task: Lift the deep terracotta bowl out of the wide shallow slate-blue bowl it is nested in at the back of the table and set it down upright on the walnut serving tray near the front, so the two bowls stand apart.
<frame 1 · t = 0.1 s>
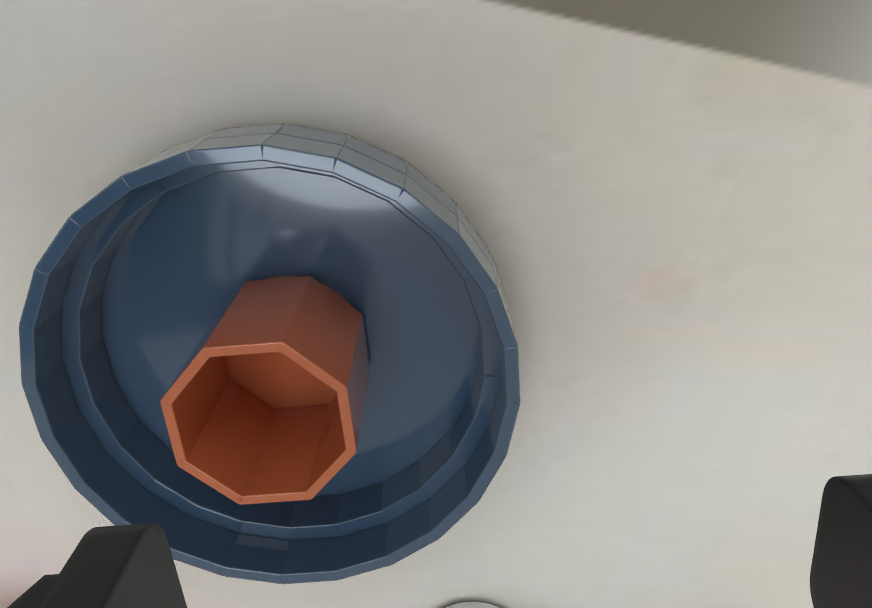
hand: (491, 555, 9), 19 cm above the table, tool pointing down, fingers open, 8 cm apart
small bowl: (292, 344, 28), point 1 cm above the table, touching big bowl
big bowl: (295, 337, 29), on the table
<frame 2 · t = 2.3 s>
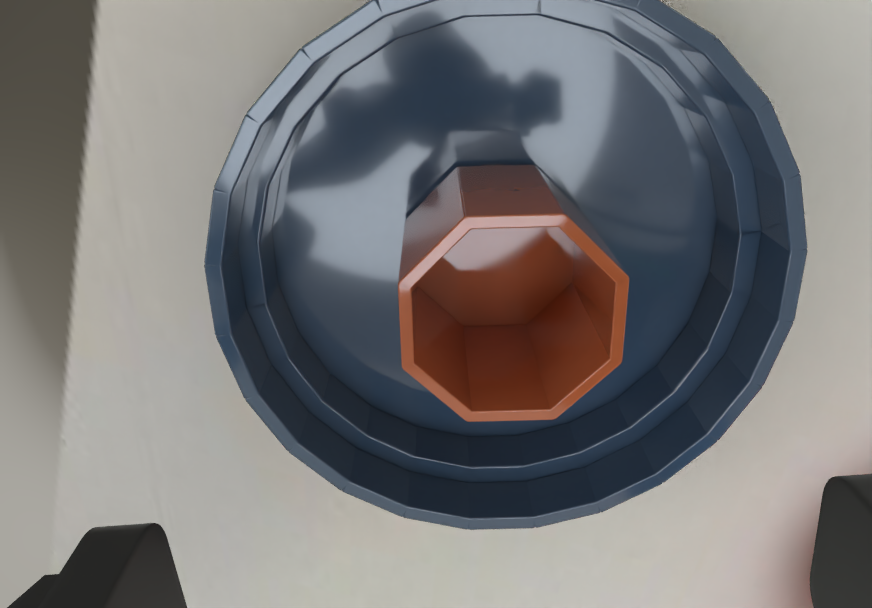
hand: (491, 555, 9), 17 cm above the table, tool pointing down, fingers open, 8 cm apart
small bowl: (494, 249, 24), point 1 cm above the table, touching big bowl
big bowl: (492, 244, 25), on the table
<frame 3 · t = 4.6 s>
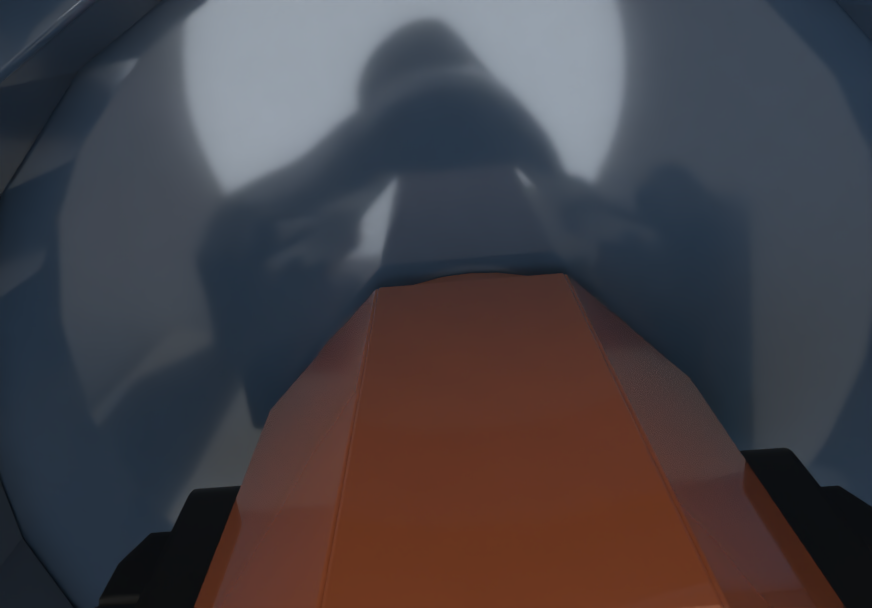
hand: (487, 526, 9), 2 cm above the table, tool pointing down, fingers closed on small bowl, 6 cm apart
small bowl: (481, 450, 11), point 1 cm above the table, touching big bowl, gripper
big bowl: (479, 429, 11), on the table
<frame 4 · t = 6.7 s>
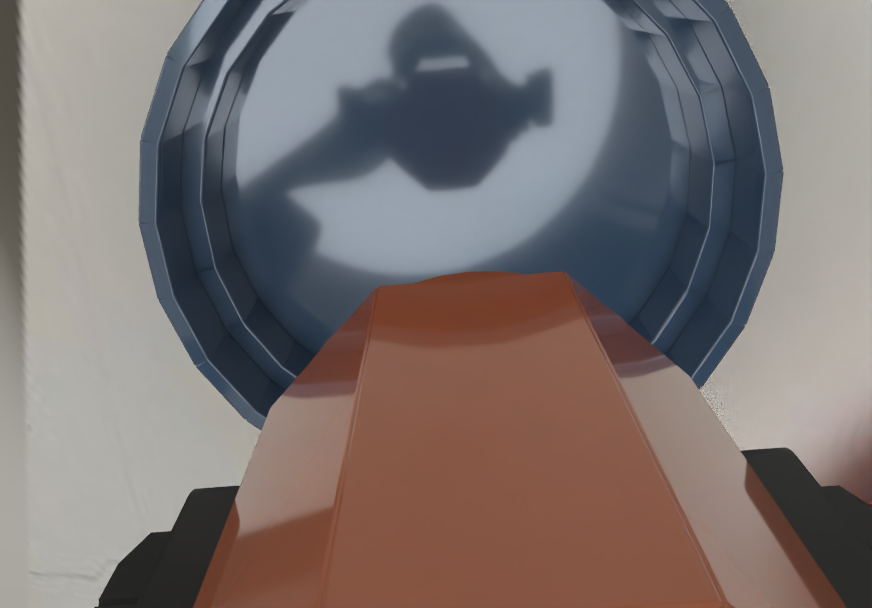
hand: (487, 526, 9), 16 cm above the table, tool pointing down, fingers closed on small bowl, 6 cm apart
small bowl: (481, 449, 11), point 14 cm above the table, touching gripper
big bowl: (455, 194, 24), on the table
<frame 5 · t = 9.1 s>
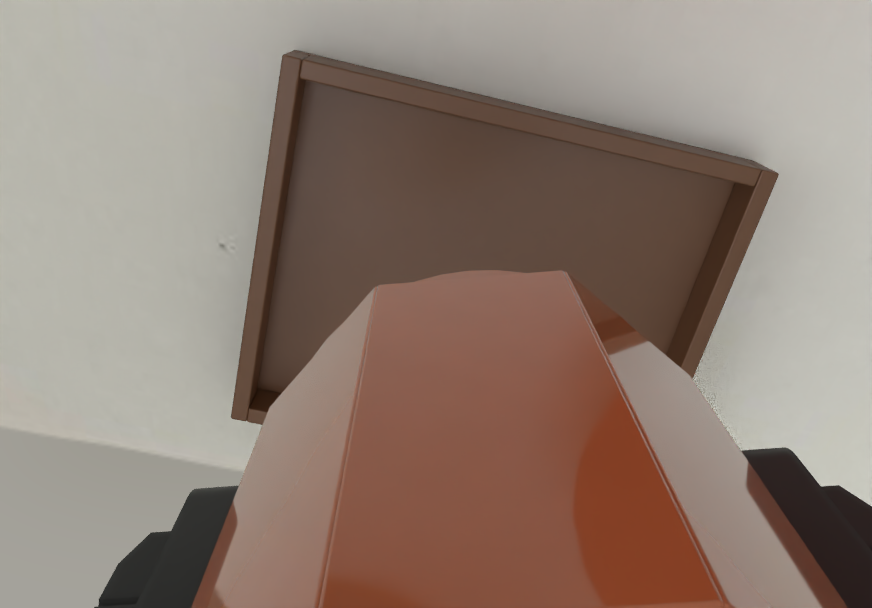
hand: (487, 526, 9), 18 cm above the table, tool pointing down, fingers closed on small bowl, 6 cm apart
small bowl: (481, 448, 11), point 16 cm above the table, touching gripper
tray: (482, 283, 27), on the table
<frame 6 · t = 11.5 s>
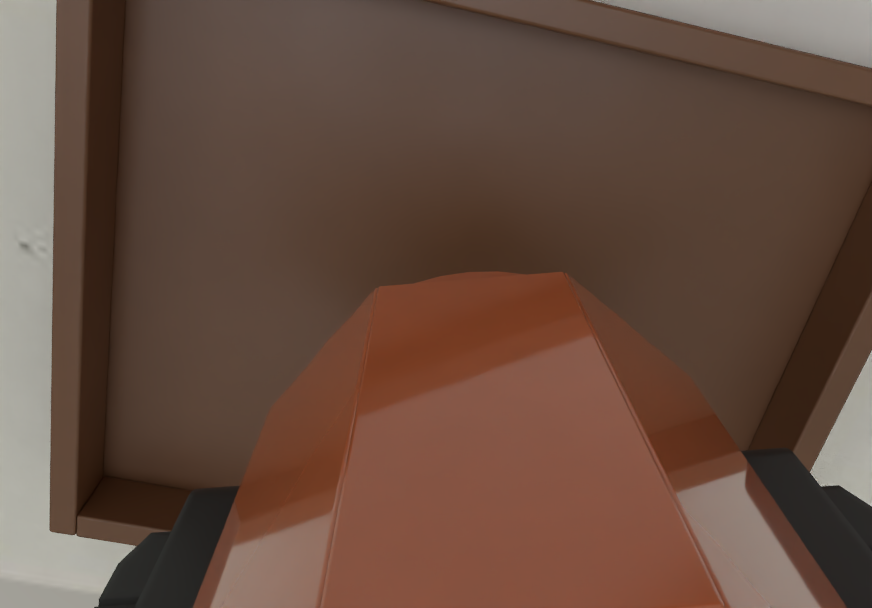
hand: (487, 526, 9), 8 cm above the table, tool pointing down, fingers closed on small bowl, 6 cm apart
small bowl: (481, 450, 11), point 6 cm above the table, touching gripper
tray: (461, 303, 16), on the table
when the fingers open (2 cm above the table, at t = 13.4 s): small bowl stays where it is, resting on tray.
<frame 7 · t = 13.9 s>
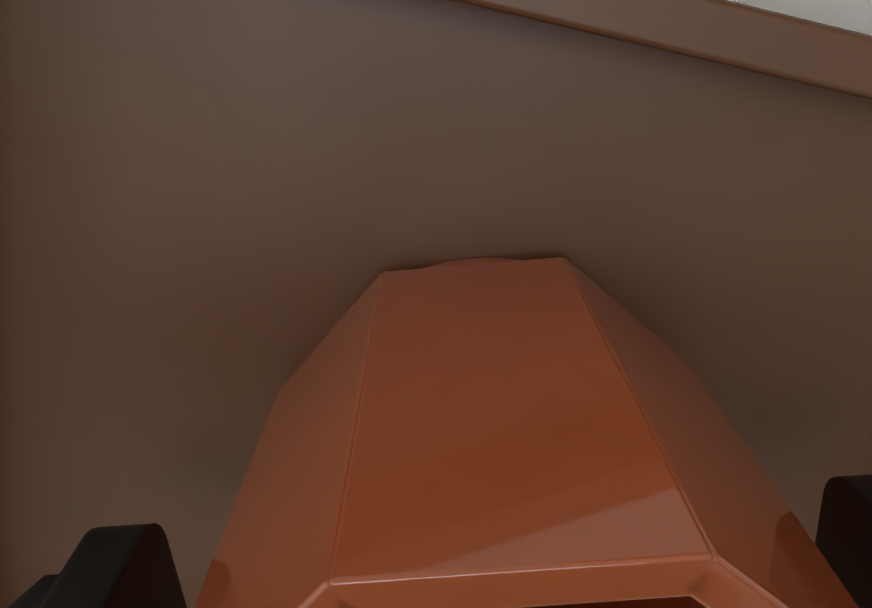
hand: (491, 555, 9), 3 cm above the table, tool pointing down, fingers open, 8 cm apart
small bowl: (483, 433, 11), resting on tray
tray: (478, 419, 12), on the table
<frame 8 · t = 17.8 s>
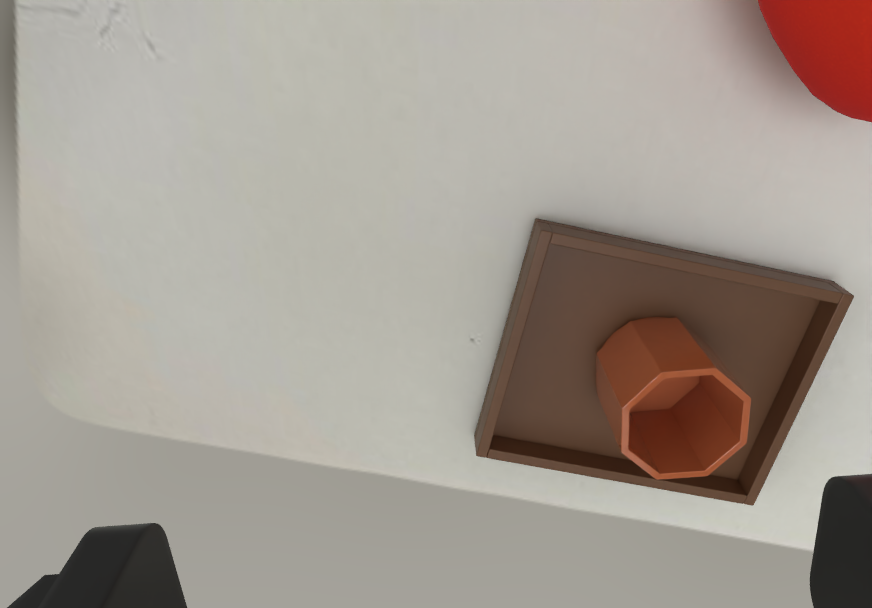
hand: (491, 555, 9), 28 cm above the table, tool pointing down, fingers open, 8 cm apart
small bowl: (649, 365, 39), resting on tray
tray: (645, 362, 40), on the table
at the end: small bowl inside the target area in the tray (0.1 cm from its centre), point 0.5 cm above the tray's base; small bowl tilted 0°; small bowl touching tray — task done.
